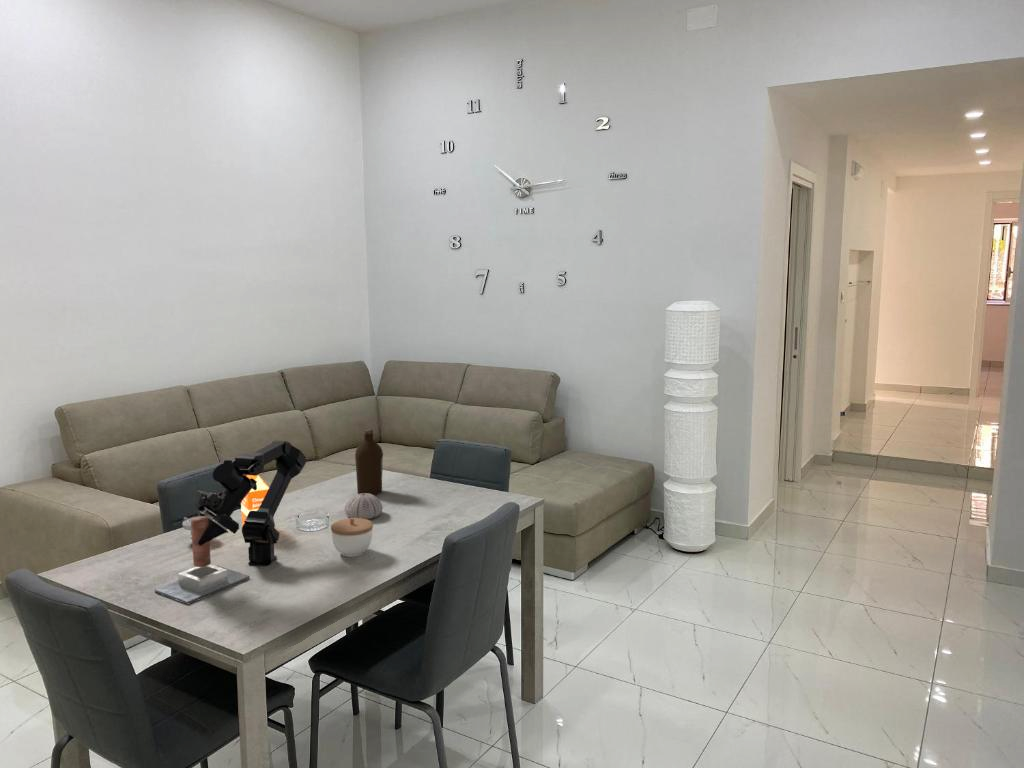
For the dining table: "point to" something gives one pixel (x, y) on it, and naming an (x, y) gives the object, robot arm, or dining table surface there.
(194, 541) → the peg
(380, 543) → the dining table surface
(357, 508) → the sea urchin shell
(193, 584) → the dock
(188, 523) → the showerhead
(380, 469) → the olive oil
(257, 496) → the orange juice
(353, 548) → the lidded bowl
